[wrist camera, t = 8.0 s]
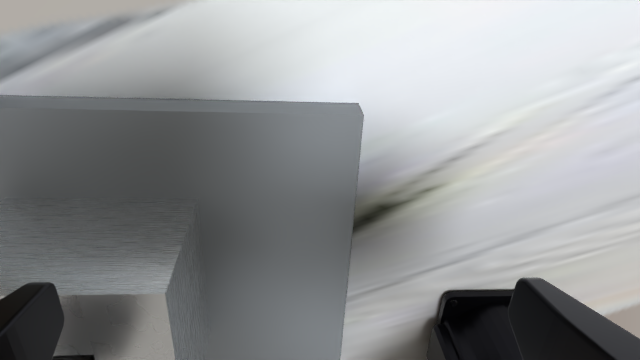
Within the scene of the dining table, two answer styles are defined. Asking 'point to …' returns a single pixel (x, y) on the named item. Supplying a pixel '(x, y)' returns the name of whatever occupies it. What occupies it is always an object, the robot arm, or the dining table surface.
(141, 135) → the board
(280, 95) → the dining table surface
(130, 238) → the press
